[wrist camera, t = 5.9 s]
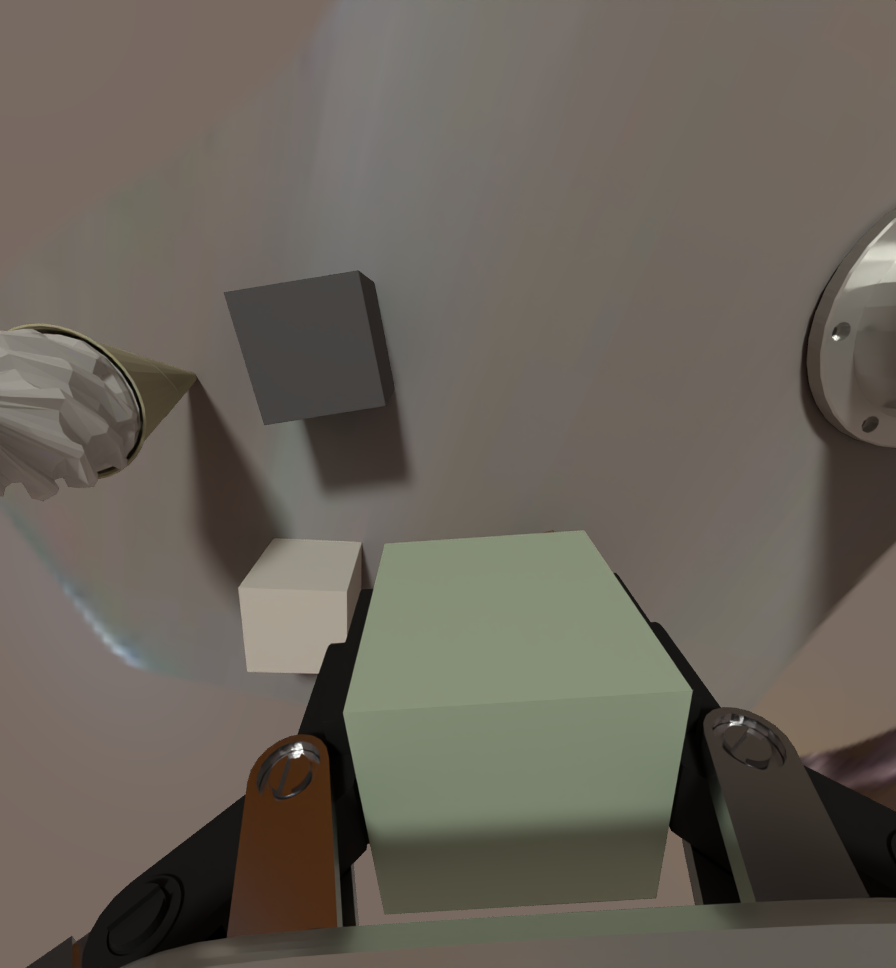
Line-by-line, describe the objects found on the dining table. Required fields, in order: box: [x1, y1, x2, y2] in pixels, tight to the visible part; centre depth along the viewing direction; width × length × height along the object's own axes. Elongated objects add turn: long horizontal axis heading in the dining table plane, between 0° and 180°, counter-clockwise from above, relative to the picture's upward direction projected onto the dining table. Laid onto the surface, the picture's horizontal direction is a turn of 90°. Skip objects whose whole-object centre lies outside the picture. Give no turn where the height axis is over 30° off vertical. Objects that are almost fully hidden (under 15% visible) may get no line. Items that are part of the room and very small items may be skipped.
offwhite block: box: [238, 538, 362, 674], centre depth 24 cm, size 5×5×5 cm
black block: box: [224, 271, 395, 425], centre depth 19 cm, size 5×5×5 cm
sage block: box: [343, 530, 693, 914], centre depth 9 cm, size 5×5×5 cm
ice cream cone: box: [0, 324, 197, 501], centre depth 15 cm, size 5×5×15 cm
